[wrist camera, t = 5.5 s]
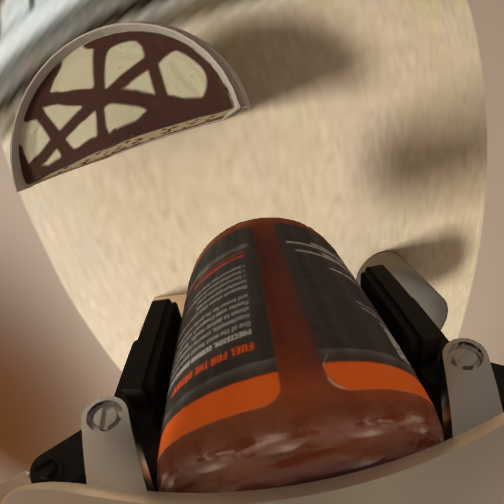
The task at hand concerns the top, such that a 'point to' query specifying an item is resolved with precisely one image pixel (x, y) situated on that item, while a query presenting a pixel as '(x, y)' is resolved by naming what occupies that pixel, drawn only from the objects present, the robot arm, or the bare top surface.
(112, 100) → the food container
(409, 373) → the supplement bottle
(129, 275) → the top surface
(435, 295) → the gray cylinder
